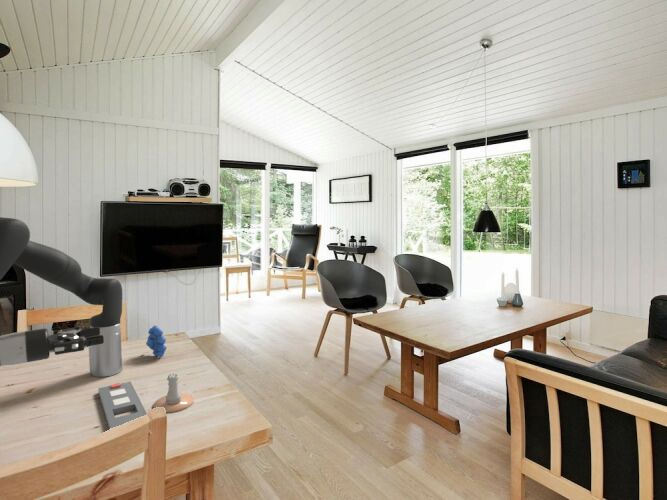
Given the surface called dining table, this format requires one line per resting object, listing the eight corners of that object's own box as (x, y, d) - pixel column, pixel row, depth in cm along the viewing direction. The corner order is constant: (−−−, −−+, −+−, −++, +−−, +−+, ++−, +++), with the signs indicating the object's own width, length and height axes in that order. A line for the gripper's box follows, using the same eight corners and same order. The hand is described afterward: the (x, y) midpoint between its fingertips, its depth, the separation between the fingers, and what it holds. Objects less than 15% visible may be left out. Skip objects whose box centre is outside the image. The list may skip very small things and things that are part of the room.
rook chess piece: (168, 398, 118) (167, 372, 118) (183, 398, 118) (183, 372, 118) (162, 405, 114) (162, 378, 113) (178, 405, 114) (177, 378, 113)
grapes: (139, 355, 157) (138, 325, 156) (156, 351, 162) (155, 322, 161) (153, 362, 149) (152, 331, 149) (170, 357, 155) (169, 327, 154)
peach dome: (144, 409, 112) (144, 407, 112) (170, 393, 123) (170, 391, 123) (178, 414, 110) (178, 412, 110) (201, 397, 120) (201, 395, 120)
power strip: (98, 392, 123) (98, 386, 123) (130, 385, 128) (130, 379, 128) (111, 435, 99) (110, 427, 99) (150, 424, 104) (149, 417, 104)
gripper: (22, 339, 90) (104, 327, 100) (24, 324, 102) (97, 315, 111) (24, 371, 91) (105, 356, 100) (26, 353, 102) (99, 341, 112)
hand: (101, 334), depth 106 cm, fingers open, 8 cm apart
